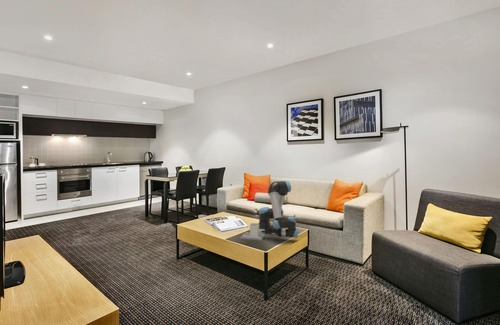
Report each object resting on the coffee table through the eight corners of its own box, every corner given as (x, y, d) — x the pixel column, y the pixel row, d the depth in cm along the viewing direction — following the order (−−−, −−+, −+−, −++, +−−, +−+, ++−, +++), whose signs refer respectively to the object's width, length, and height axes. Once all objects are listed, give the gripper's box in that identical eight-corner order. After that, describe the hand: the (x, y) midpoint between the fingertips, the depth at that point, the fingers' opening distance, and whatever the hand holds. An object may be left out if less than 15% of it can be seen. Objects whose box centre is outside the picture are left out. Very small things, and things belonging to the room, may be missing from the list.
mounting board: (245, 234, 273) (245, 231, 272) (265, 235, 266) (265, 233, 266) (240, 238, 257) (240, 236, 257) (261, 240, 251) (261, 238, 250)
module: (251, 235, 265) (251, 222, 265) (259, 235, 263) (259, 223, 262) (250, 237, 259) (249, 224, 259) (257, 237, 257) (257, 225, 256)
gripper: (280, 238, 246) (256, 236, 253) (283, 234, 258) (260, 232, 265) (280, 230, 245) (256, 228, 253) (283, 226, 258) (260, 225, 265)
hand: (258, 230), depth 259 cm, fingers closed
